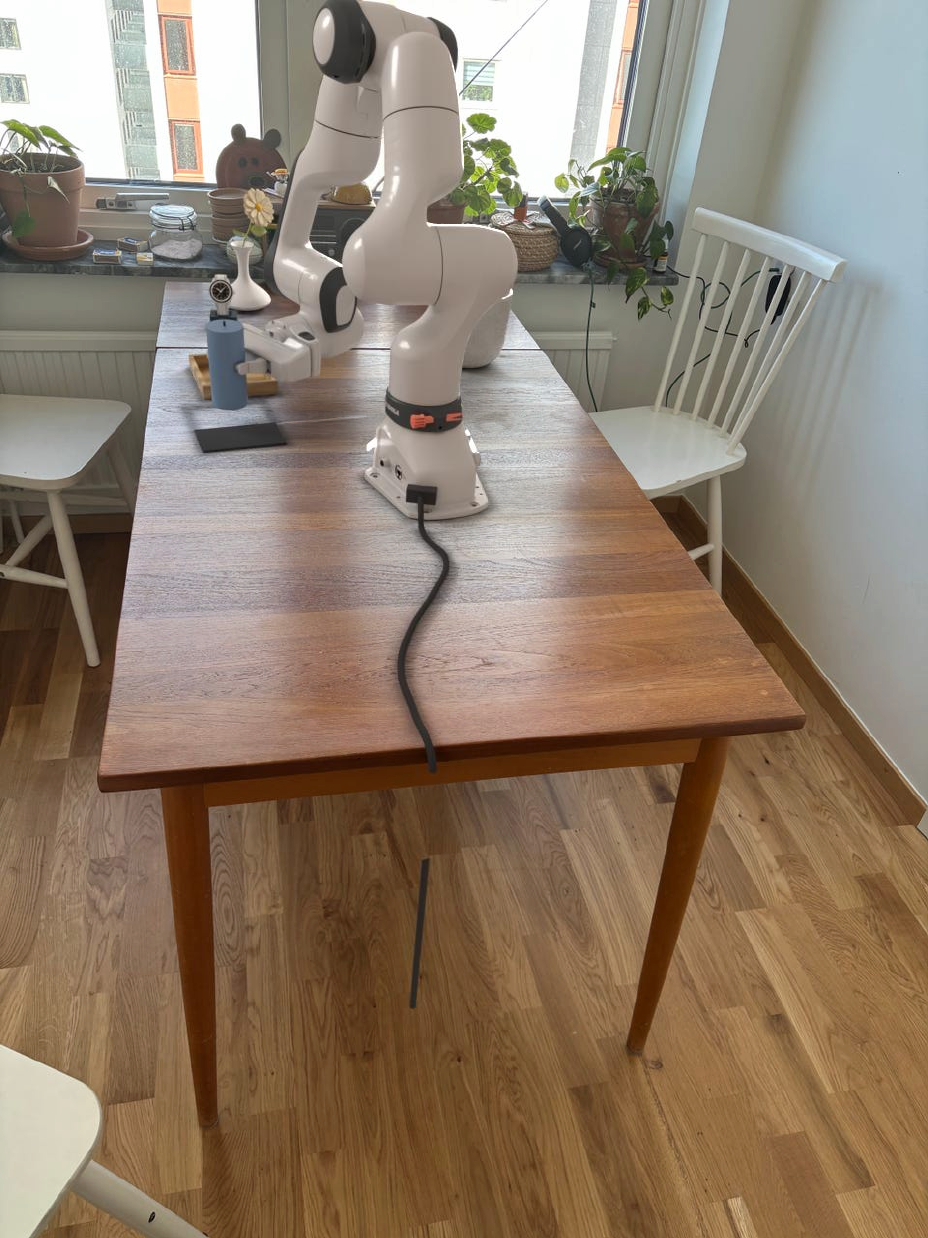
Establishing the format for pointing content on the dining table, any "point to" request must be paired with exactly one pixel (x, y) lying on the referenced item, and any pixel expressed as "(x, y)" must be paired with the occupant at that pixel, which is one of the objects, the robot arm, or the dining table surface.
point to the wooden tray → (255, 382)
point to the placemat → (239, 437)
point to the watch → (221, 299)
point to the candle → (226, 364)
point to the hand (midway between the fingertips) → (223, 362)
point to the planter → (488, 335)
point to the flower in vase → (245, 289)
